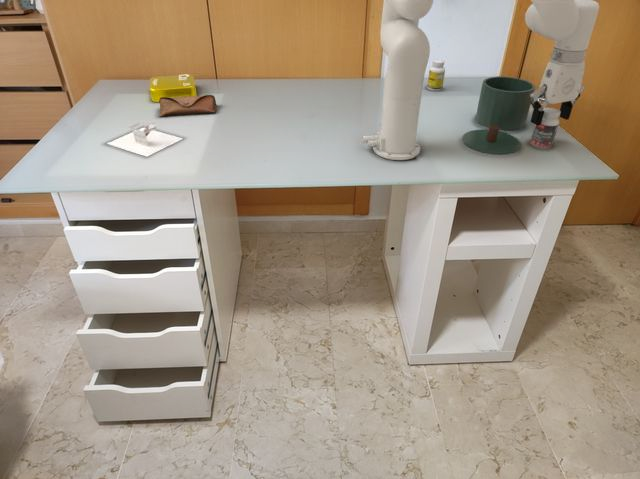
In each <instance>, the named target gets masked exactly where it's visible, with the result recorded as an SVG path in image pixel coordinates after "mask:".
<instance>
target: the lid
mask: <svg viewBox="0 0 640 479" xmlns="http://www.w3.org/2000/svg"><path fill="white" fill-rule="evenodd" d="M499 128H500V126H499V125H496V124H490V125H489V128H487V129H473V130H469V131H467V132H465V133H464V134H463V135H462V139H461V140H462V142H463V144H464V145H465V146H466V147H467V148H469V149H471V150H473V151H476V152H480V153H484V154H489V155H509V154H513V153H516V152H517V151H519V149H520V148H521V141H520V140H519V139H518V137H517V138H516V136H514V135H512V134H509V133H506V132H505V131H500V130H499Z"/></svg>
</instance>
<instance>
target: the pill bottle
mask: <svg viewBox="0 0 640 479" xmlns="http://www.w3.org/2000/svg"><path fill="white" fill-rule="evenodd" d="M543 111H544V115H543V119H542V123H541V125H539V126H538V125H536V124H534V128H533V131H532V135H531V138H530V144H531V145H532V146H535V147H538V148H551V147H552V146H553V144H554V141H555V138H556V134H557V132H558V129H559V125H560V119H559V118H560V117H559V116H560V113H561V112H560V109H557V108H554V107H545V108H544V109H543Z"/></svg>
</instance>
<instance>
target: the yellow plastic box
mask: <svg viewBox="0 0 640 479" xmlns="http://www.w3.org/2000/svg"><path fill="white" fill-rule="evenodd" d="M149 93H150V99H151V101H152V102H154V103H160V102H159V100H160V98H162V97H170V98H172V97H188V96H198V94H197V88H196V83H195V77H194V75H193V74H192V73H187V74H183V73H182V74H173V75H160V76H159V75H157V76H152V77H150V78H149Z"/></svg>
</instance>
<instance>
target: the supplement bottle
mask: <svg viewBox="0 0 640 479" xmlns="http://www.w3.org/2000/svg"><path fill="white" fill-rule="evenodd" d="M444 65H445V60H444V59H438V58H437V59H433V60H432V64H431V66H430V67H429V71H428V72H429V73H428V80H427V86H426V87H427V90H429V91H433V92H439V91H443V86H444V81H445V74H446V67H444Z"/></svg>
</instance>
